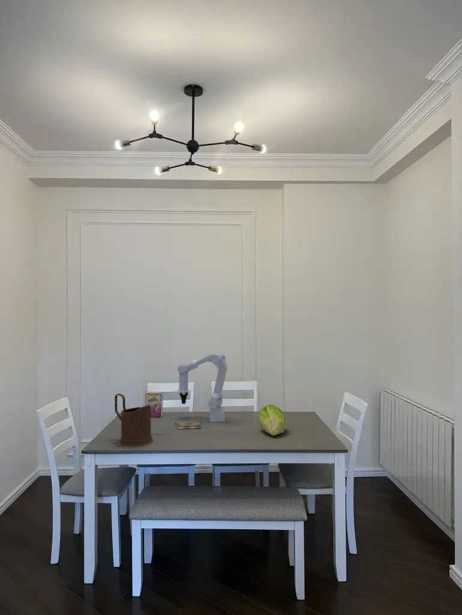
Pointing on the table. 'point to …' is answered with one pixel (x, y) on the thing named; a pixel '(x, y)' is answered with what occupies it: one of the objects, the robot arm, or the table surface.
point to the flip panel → (188, 425)
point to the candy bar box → (155, 403)
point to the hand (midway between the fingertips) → (183, 403)
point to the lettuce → (272, 420)
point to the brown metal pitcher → (134, 424)
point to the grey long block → (176, 422)
